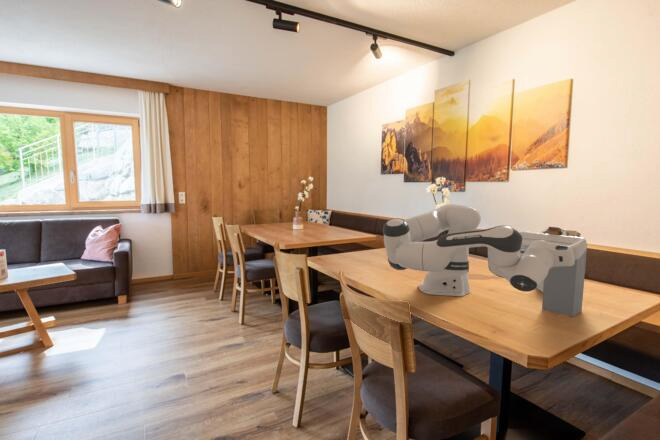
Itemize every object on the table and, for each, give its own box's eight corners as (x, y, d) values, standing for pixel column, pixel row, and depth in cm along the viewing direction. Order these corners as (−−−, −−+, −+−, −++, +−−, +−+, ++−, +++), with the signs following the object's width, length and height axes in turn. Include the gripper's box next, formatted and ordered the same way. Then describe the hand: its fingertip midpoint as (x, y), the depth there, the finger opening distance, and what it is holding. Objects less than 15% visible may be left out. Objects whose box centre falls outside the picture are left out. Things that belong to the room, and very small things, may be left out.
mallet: (564, 236, 112) (566, 225, 112) (540, 234, 118) (542, 223, 118) (579, 244, 123) (580, 233, 123) (557, 242, 128) (558, 231, 128)
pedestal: (572, 317, 121) (578, 246, 118) (541, 309, 129) (546, 242, 126) (581, 311, 127) (587, 243, 125) (551, 303, 135) (556, 240, 132)
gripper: (510, 256, 120) (526, 234, 127) (579, 267, 104) (592, 241, 111) (507, 241, 117) (523, 220, 124) (577, 250, 101) (591, 225, 108)
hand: (556, 230), depth 117 cm, fingers closed on mallet, 3 cm apart
